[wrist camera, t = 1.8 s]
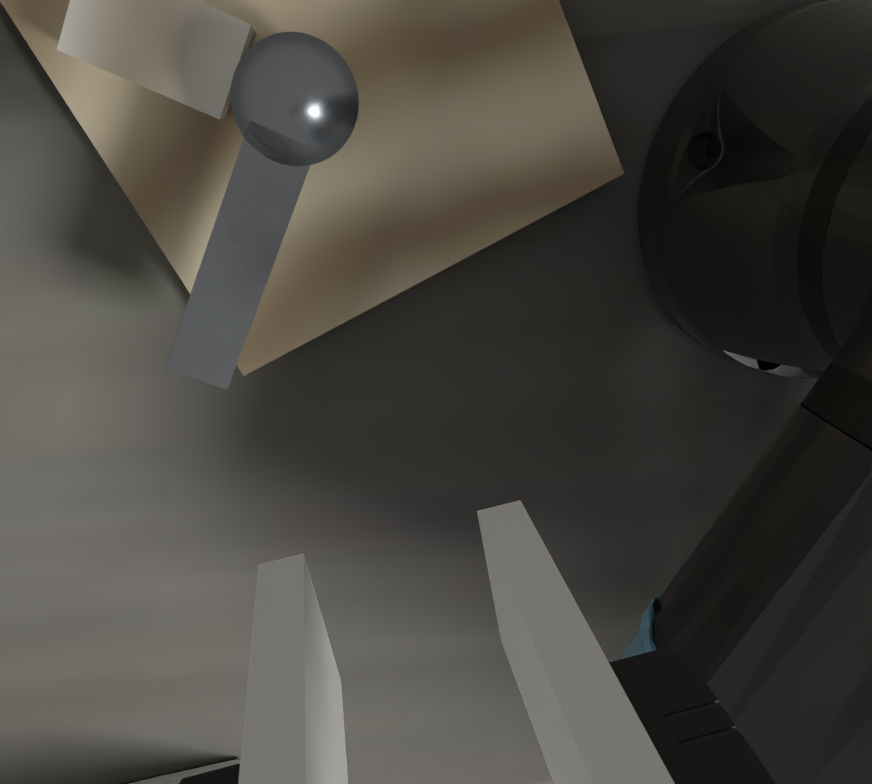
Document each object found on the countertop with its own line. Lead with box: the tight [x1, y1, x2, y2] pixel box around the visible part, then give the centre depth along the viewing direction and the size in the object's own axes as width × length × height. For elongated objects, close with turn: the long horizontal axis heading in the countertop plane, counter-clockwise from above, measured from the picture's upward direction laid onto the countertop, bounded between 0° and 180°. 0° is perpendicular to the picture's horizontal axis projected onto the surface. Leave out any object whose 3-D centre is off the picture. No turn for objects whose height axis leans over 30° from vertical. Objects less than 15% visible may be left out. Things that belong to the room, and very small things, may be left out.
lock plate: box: [0, 0, 624, 376], centre depth 26 cm, size 15×17×8 cm
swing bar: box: [165, 32, 359, 390], centre depth 24 cm, size 11×4×2 cm, turn 156°
